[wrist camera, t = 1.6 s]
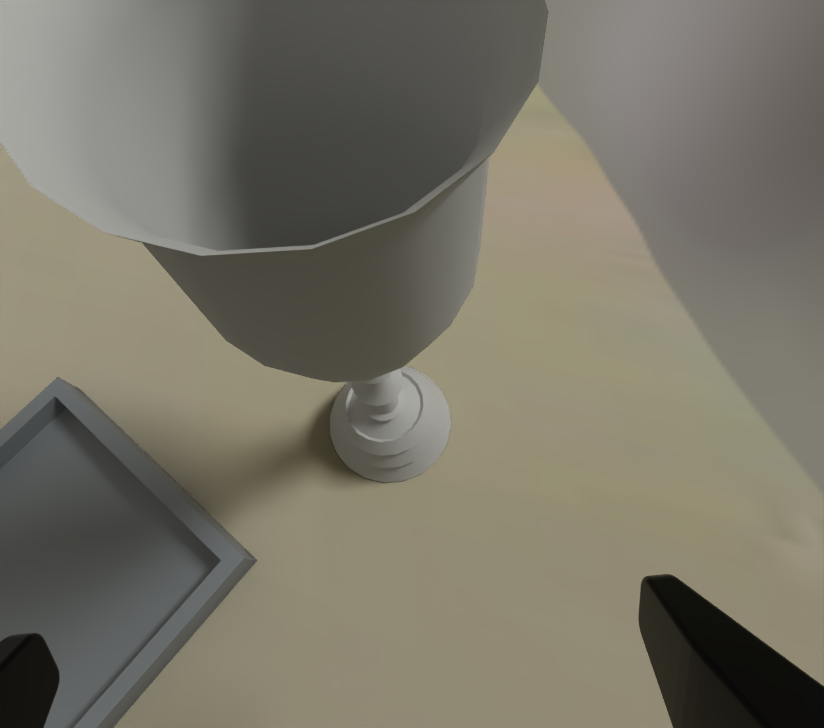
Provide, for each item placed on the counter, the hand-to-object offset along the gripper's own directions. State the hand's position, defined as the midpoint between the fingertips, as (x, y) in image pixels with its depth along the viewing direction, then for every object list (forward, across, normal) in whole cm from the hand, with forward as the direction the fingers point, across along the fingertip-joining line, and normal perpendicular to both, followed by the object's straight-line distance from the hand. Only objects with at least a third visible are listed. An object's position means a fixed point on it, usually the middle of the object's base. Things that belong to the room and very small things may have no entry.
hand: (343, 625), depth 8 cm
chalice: (+15, 0, +5) cm, 15 cm away
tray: (+11, +13, +8) cm, 19 cm away
